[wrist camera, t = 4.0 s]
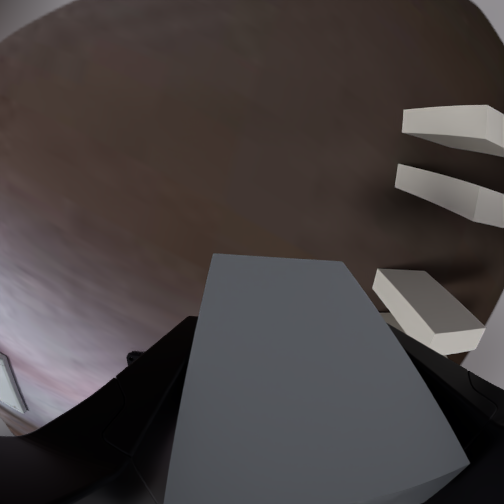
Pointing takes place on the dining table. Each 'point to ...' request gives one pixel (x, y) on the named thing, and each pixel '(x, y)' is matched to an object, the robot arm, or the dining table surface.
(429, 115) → the domino
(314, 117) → the dining table surface
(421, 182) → the domino
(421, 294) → the domino
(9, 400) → the hard drive
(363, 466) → the domino
